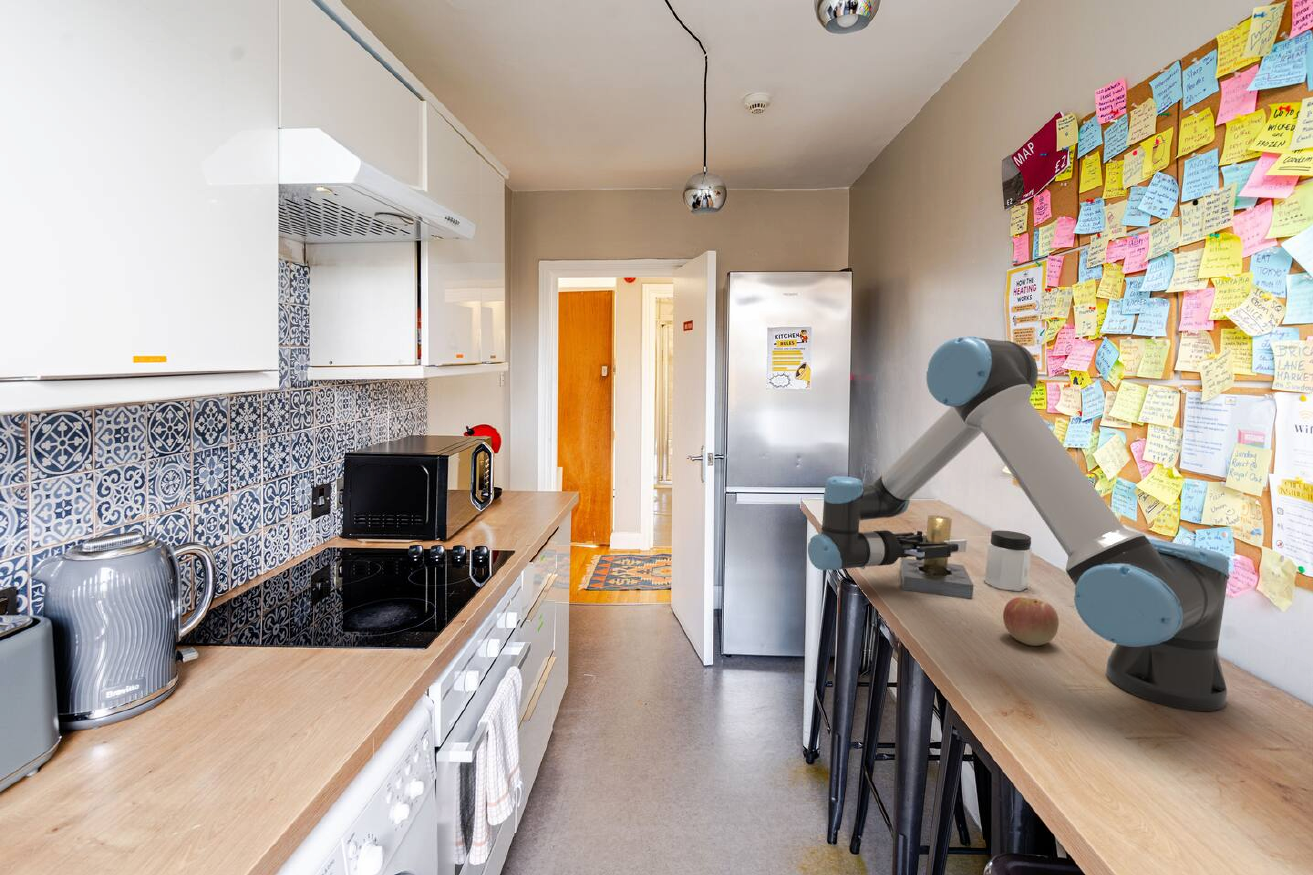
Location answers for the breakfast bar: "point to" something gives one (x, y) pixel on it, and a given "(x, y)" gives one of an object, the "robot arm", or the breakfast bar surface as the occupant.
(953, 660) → the breakfast bar surface
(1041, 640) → the apple
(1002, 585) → the jar
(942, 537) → the brass cylinder
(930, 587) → the jig
